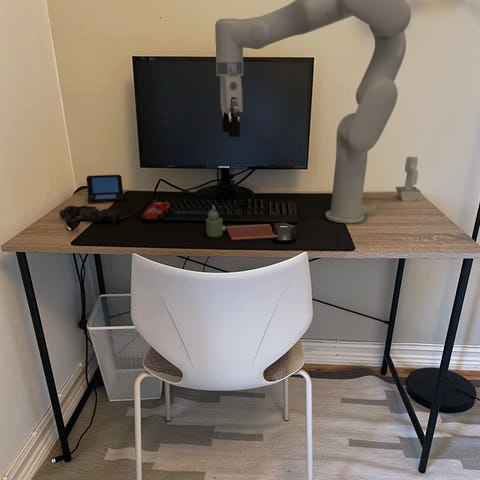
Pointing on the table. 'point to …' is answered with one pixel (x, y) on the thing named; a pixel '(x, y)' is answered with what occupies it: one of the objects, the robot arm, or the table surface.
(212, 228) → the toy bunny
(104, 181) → the handheld game console
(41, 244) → the table surface
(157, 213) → the race car
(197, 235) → the table surface
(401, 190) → the figurine
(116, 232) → the table surface
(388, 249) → the table surface
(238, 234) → the reddish brown flat tray
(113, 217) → the robot figurine
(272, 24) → the robot arm
